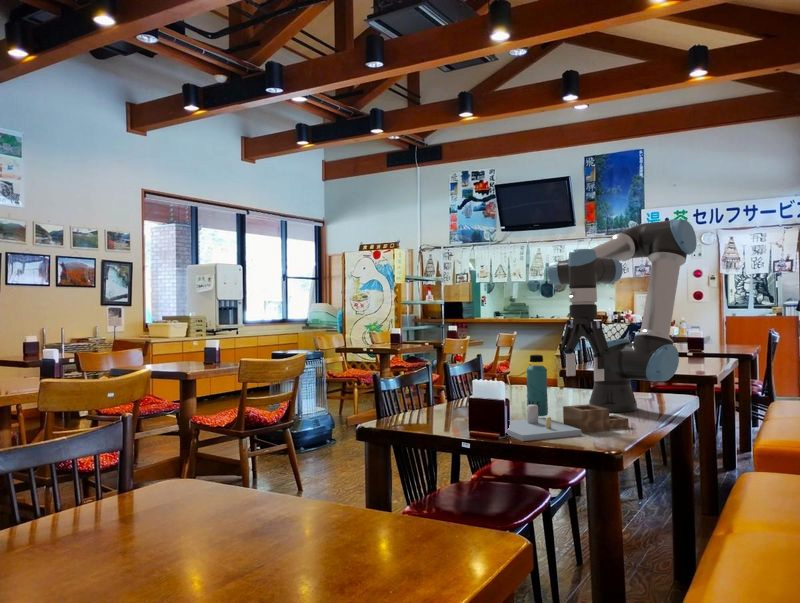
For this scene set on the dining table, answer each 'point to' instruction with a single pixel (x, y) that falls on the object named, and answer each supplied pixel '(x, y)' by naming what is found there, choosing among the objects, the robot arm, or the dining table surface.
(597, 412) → the stepped wooden block
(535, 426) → the post board
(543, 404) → the beverage bottle
